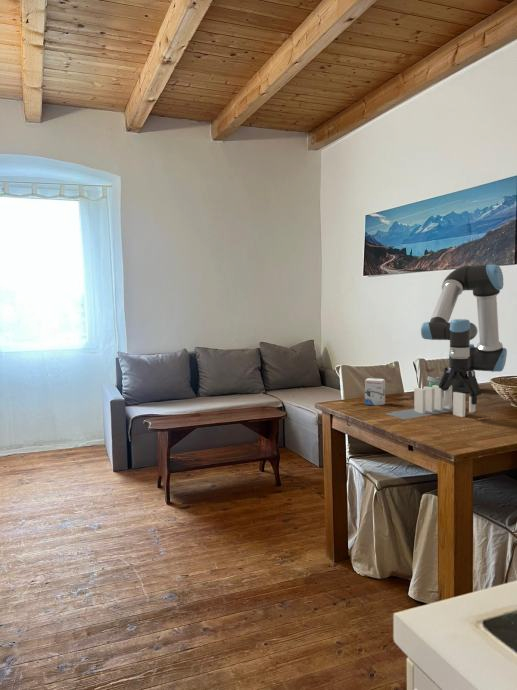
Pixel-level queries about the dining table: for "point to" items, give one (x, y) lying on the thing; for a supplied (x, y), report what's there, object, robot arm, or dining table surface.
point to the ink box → (374, 391)
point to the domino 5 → (459, 404)
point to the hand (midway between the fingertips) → (459, 408)
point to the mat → (416, 413)
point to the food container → (434, 380)
